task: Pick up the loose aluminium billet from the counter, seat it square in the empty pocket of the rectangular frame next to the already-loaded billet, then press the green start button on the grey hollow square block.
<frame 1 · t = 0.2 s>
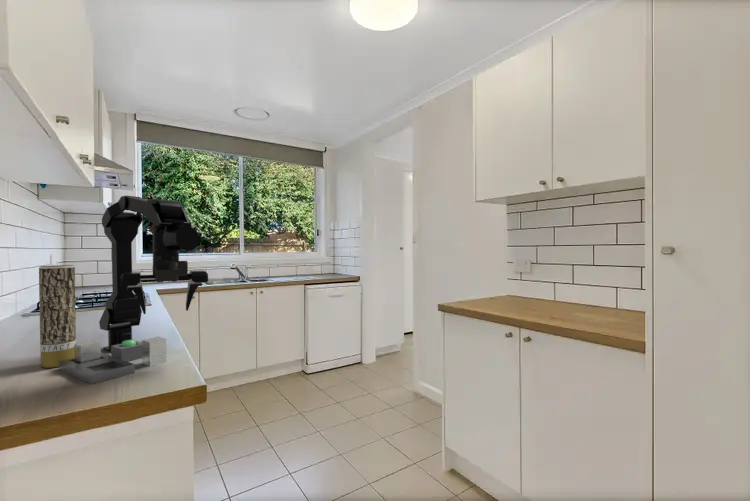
hand: (166, 312, 91), 13 cm above the countertop, fingers open, 9 cm apart
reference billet: (87, 367, 89), resting in rectangular frame
billet: (154, 362, 92), on the countertop
paper tube: (58, 365, 92), on the countertop
start button: (129, 345, 97), point 3 cm above the countertop, slide at 0.0 cm
rectangular frame: (96, 370, 87), on the countertop
grey hollow square block: (129, 357, 97), on the countertop
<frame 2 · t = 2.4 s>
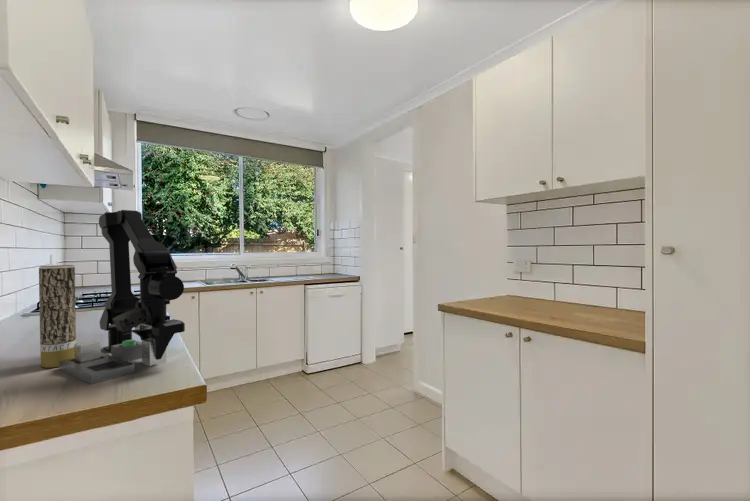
hand: (154, 357, 92), 1 cm above the countertop, fingers closed on billet, 4 cm apart
billet: (154, 362, 92), on the countertop, touching gripper
everything else where it was.
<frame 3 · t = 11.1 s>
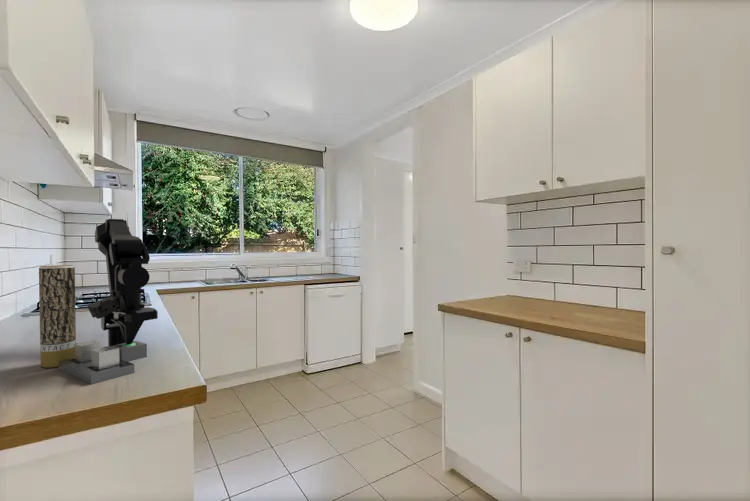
hand: (129, 344, 97), 4 cm above the countertop, fingers closed, pressing on start button
billet: (105, 374, 84), resting in rectangular frame
start button: (129, 348, 97), point 2 cm above the countertop, slide at 0.8 cm, touching gripper
everything else where it was.
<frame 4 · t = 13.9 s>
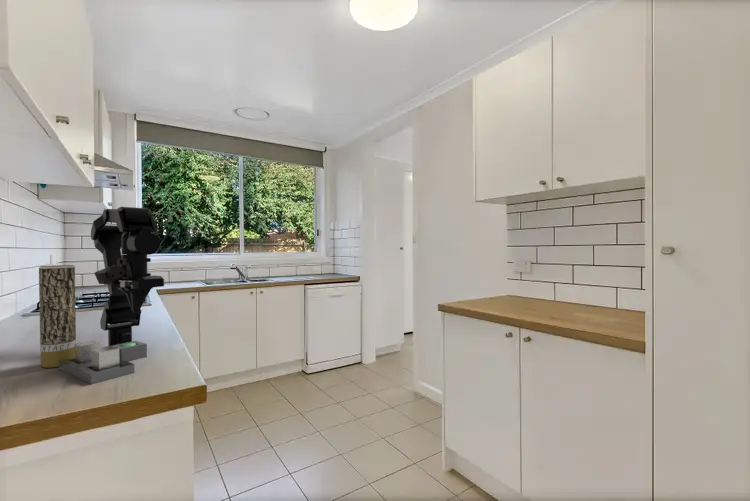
hand: (135, 313, 96), 12 cm above the countertop, fingers closed
start button: (129, 348, 97), point 2 cm above the countertop, slide at 0.8 cm
everything else where it was.
at the end: billet 0.1 cm from the target spot on the rectangular frame, point 0.0 cm above the rectangular frame's base; billet tilted 0°; start button slide at 0.8 cm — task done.
